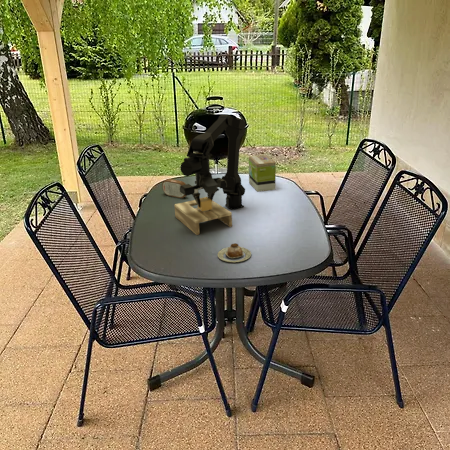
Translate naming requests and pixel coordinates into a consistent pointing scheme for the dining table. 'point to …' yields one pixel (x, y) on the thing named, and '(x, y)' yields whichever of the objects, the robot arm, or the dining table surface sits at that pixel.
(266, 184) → the tea box
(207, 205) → the mustard yellow block
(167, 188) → the tin
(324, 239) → the dining table surface
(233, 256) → the pastry
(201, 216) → the keyhole board
